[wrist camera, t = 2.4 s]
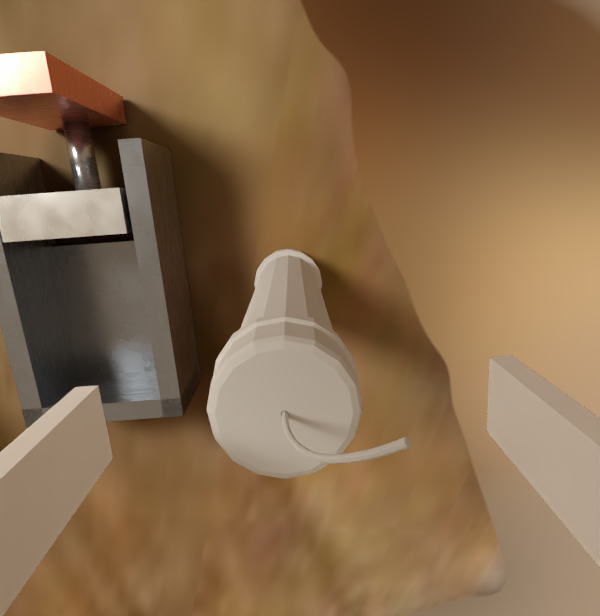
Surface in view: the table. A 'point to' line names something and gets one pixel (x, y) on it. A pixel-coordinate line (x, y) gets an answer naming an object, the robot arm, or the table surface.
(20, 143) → the table surface
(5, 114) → the jaw
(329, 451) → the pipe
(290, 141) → the table surface
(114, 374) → the grey open box
